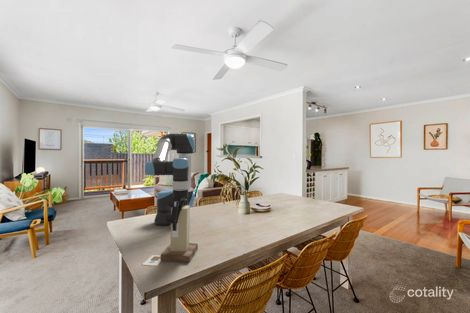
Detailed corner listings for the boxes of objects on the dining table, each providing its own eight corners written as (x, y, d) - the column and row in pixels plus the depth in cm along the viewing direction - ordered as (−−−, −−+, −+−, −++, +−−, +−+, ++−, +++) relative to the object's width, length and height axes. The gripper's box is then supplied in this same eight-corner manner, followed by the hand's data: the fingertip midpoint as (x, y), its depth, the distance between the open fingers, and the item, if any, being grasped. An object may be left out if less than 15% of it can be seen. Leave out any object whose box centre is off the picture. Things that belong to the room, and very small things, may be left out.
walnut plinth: (172, 247, 114) (172, 242, 114) (197, 249, 112) (197, 243, 112) (160, 260, 100) (160, 254, 100) (189, 262, 99) (189, 256, 98)
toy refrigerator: (189, 245, 110) (190, 204, 110) (186, 251, 103) (187, 208, 103) (174, 245, 110) (174, 204, 110) (170, 251, 103) (170, 208, 103)
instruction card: (151, 255, 105) (151, 254, 105) (165, 256, 104) (165, 255, 104) (142, 265, 96) (142, 264, 96) (157, 266, 95) (157, 265, 95)
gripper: (181, 185, 118) (181, 222, 119) (162, 193, 94) (162, 241, 94) (195, 185, 118) (194, 223, 118) (178, 194, 93) (178, 242, 93)
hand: (180, 231), depth 106 cm, fingers open, 13 cm apart
